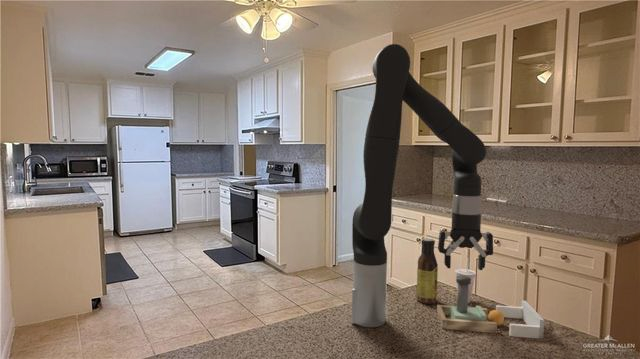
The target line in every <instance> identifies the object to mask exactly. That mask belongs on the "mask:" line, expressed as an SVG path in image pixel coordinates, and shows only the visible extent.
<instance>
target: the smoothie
mask: <svg viewBox="0 0 640 359" xmlns="http://www.w3.org/2000/svg"><path fill="white" fill-rule="evenodd" d="M469 262H470V258H469V257H467V258H466V268H456V269H455V270H454V274H455V278H456V277H457V276H466V277H469V278H471V284H469V288H468V304H470V303H471V299H472V294H473V289H474V283H475V278H476V277H477V273H476V271H474V270H472V269H469ZM456 293H457V294H458V283H457V282H456Z"/></svg>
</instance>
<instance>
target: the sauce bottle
mask: <svg viewBox="0 0 640 359" xmlns="http://www.w3.org/2000/svg"><path fill="white" fill-rule="evenodd" d="M435 241H436V240H435V239H433V238H421V254H420V255H419V257H418V260H417V271H416V272H417V273H416V276H417V277H416V278H417V279H416V296H417V297H416V298H417V301H419V303H422V304H430V305H431V304H432V305H433V304H434V303H436V301H437V297H438V266H439V264H438V261H437V258H436V255H435V243H436V242H435Z"/></svg>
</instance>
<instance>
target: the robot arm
mask: <svg viewBox="0 0 640 359" xmlns="http://www.w3.org/2000/svg"><path fill="white" fill-rule="evenodd" d="M410 69H411V58H410V54H409V52H408V51H407V49H406V48H405V47H403V45H401V44H397V43H392V44H388V45H386V46H384V47H383V48H381V50H379V51H378V52H377V54H376V56H375V58H374V60H373V62H372V67H371V70H372V74H373V76H374V79H375V91H374V100H373V103H372V107H371V111H370V112H369V113H370V114H369V118H368V121H367V124H366V125H367V126H366V130H365V137H364V144H363V145H364V146H363V170H364V180H365V181H364V182H365V184H364V185H365V187H364V188H365V190H364V196H363V199H362V200H363V202H362V203H360V204H359V205H358V206H357V207H356V209H355V210H354V212H353V215H352V226H351V227H352V228H351V229H352V236H351V239H352V240H351V241H352V251H353V252H352V254H353V268H352V270H353V271H352V273H353V276H352V290H351V291H352V294H351V324H352V325H353V324H354V325H357V326H360V327H363V328H378V327H381V326H383V325H384V324H385V323H386V308H387V307H386V304H387V303H386V300H387V275H388V274H387V271H388V269H387V267H388V250H387V248H386V243H385V237H386V236H387V234H388V233H389V231H390V229H391V227H392V217H393V216H392V213H393V211H392V209H393V208H392V207H393V206H392V205H393V203H392V202H393V188H394V183H395V182H394V181H395V177H396V176H395V175H396V169H397V161H398V155H399V150H400V140H401V132H402V131H401V130H402V119H403V118H402V116H403V102H404V103H405V104H406V105H407V106H408V107H409V109H411V110H412V111H413V112H414V114H416V115H417V116H418V117H419V119H420V120H421V121H422V122H423V123H424V124H425V125H426V127H427V128H428V129H429V130H430V131H431V132H432V133H433V135H435V136H436V137H437V138H438V139H439V140H440V141H442V142H444V143H446V144H447V145H448V146H449V147H450V148H451V149H452V150H451V164H452V165H451V166H452V170H453V177H454V181H453V198H452V205H451V229H450V231H444V230H442V229H441V230H439V234H438V243H437V244H438V245H437V250H438V252H439V253H440V254H443V255H444V261H443V262H444V265H445V267H446V268H447V269H448V270H449V269H451V266H452V265H451V263H452V255H451V254H452V253H453V251H455V250H456V249H457V248H459V249H464V248H467V249H472V248H475V250H476V251H477V252H478V253H479V254H478V256H477V257H478V259H477V260H478V262H477V269H478V270H479V271H483V269H485V267H486V258H487V257H488V256H493V255H494V235H493V234H492V233H491V232H490V231H487V232H482V231H481V227H482V225H481V224H482V196H481V195H482V178H481V176H480V175H479V173H478V168H477V167H478V164H480V163H482V162H483V161H484V160H485V158H486V156H487V148H486V145H485V144H484V143H485V142H483V141H482V139H481V138H480V137H479V136H478V135H476V133H474V132H473V131H472V130H470V129H469V128H468V127H467V126H465V125H464V124H463V123H461V121H460V120H459V119H458V117H457V116H456V115H455V114H454V113H453V112H452V111H451V110H450V109H449V108H448V107H447V106H446V105H445V104H444V103H443V102H442V101H441V100H440V99H438V98H437V97H436V96H434V95H433V94H431V93H430V92H429V91H428V90H426V89H425V88H424V87H423V86H422V85H420V83H418V81H416V79H415V78H414V77H413V76H412V74H411V73H410ZM448 237H450V239H452V240H451V241H450V243H448V245H447V247H446V248H445V244H446V243H445V242H446V240H447V239H448ZM482 239H483V240H484V241H485V249H484V250H483V248H482V246H481V245H480V243H479V242H480V241H481V240H482Z"/></svg>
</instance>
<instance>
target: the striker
mask: <svg viewBox="0 0 640 359" xmlns="http://www.w3.org/2000/svg"><path fill="white" fill-rule="evenodd" d="M455 280H456V281H455V282H456V284H457V283H458V294H457V298H456V305H450V306H451V308H450V315H449V317H450V319H461V320H474V321H487V319H488V315H487V316H486V314H485V313H484V311H483V309H482V308H483V307H482V306H481V305H475V307H476V308H475V307H473V306H469V305H468V304H469V303H468V288H469V284H471V278H469V277H466V276H457V277H456V276H455Z"/></svg>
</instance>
